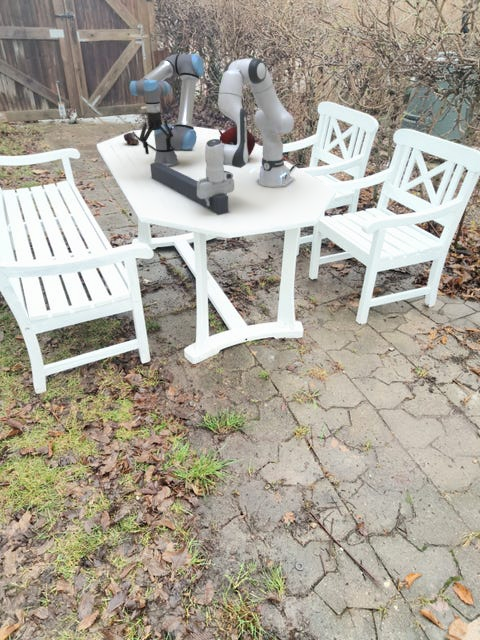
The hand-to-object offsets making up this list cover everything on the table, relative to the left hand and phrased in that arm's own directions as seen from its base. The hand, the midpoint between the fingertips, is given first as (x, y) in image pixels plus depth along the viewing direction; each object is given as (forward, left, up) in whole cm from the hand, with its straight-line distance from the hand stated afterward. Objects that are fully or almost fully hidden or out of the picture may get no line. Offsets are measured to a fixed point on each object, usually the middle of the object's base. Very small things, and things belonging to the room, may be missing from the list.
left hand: (158, 152), depth 258 cm
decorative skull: (+4, +62, -16) cm, 64 cm away
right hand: (+60, -13, -13) cm, 62 cm away
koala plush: (-47, +57, -16) cm, 76 cm away
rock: (-84, +40, -16) cm, 94 cm away
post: (+30, -6, -16) cm, 34 cm away
